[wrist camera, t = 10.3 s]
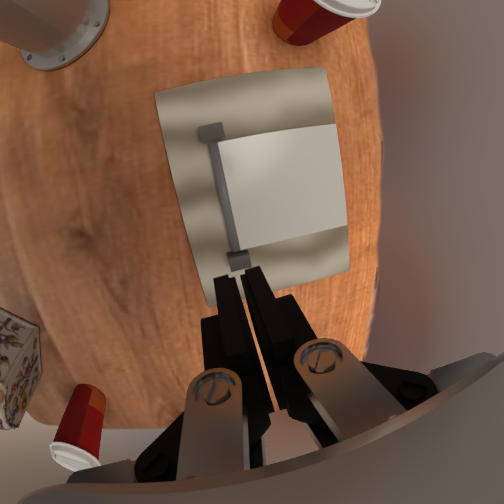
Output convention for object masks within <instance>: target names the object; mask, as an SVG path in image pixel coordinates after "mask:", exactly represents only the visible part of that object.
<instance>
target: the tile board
mask: <svg viewBox="0 0 504 504" xmlns="http://www.w3.org/2000/svg"><path fill="white" fill-rule="evenodd" d="M154 95H155V100H156V105H157V110H158V115H159V120H160V125H161V129H162V134H163V139H164V143H165V148H166V152H167V156H168V161H169V165H170V169H171V173H172V177H173V181H174V186H175V190H176V194H177V197H178V201H179V205H180V209H181V213H182V217H183V220H184V224H185V228H186V232H187V235H188V239H189V242H190V246H191V249H192V253H193V256H194V260H195V263H196V267H197V270H198V274H199V277H200V280H201V284H202V287H203V290H204V293H205V297H206V300H207V303H208V306H209V307H211V306H216V305H217V302H216V295H215V288H214V282H213V278H216V277H220V276H223V275H227V274H228V276H229V278H231V277H235V278H236V282H237V285H238V289H239V292H240V296H241V299H245V298H246V297H245V293H244V290H243V286H242V282H241V278H240V275H242V274H245V269H249V268H252V267H256V266H260V267H261V269H262V272H263V274H264V276H265V278H266V280H267V282H268V284H269V286H270V288H271V290H272V292H273V291H277V290H281V289H285V288H288V287H292V286H296V285H300V284H303V283H307V282H311V281H315V280H318V279H322V278H325V277H329V276H333V275H336V274H340V273H343V272H347V271H350V267H349V245H348V229H347V225H346V226H341V227H337V228H333V229H329V230H324V231H320V232H316V233H312V234H307V235H303V236H299V237H295V238H290V239H286V240H282V241H278V242H274V243H269V244H265V245H261V246H257V247H253V248H248V249H244V250H240V251H237V252H232V251H231V247H230V242H229V238H228V234H227V229H226V225H225V220H224V216H223V212H222V207H221V203H220V198H219V194H218V189H217V185H216V180H215V176H214V171H213V166H212V162H211V157H210V153H209V148H208V144H212V143H216V142H221V141H226V140H231V139H236V138H241V137H246V136H251V135H257V134H263V133H269V132H275V131H281V130H288V129H295V128H302V127H310V126H319V125H328V124H335V117H334V111H333V106H332V100H331V95H330V90H329V84H328V79H327V75H326V70H325V67H309V68H293V69H281V70H271V71H262V72H254V73H247V74H240V75H234V76H227V77H222V78H216V79H211V80H206V81H201V82H197V83H192V84H188V85H183V86H179V87H175V88H171V89H168V90H164V91H160V92H157V93H154Z"/></svg>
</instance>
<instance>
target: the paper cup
mask: <svg viewBox="0 0 504 504" xmlns="http://www.w3.org/2000/svg"><path fill="white" fill-rule="evenodd" d="M380 4H381V0H281V2H280V4H279V6H278V9H277V11H276V13H275V15H274V18H273V28H274V31H275V33H276V34H277V36H278V37H279V38H280V39H282V40H283V41H285V42H287V43H289V44H292V45H298V46H301V45H306V44H309V43H311V42H313V41H315V40H317V39H319V38H320V37H322V36H324V35H326V34H328V33H330V32H332V31H334V30H336V29H338V28H339V27H341V26H343V25H345V24H346V23H348V22H350V21H352V20H354V19H356V18H363V17H368V16H370V15H372V14H373V13H375V12H376V11H377V10H378V8H379V6H380Z"/></svg>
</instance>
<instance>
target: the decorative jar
mask: <svg viewBox="0 0 504 504" xmlns="http://www.w3.org/2000/svg"><path fill="white" fill-rule="evenodd" d="M41 374H42V368H41V358H40V341H39V327H38V326H35V325H33V324H31V323H29V322H27V321H25V320H23V319H21V318H19V317H17V316H15V315H13V314H11V313H9V312H7V311H5V310H3V309H1V308H0V429H2V430H10V429H15V428H18V427H19V425H20V423H21V420H22V418H23V416H24V413H25V411H26V409H27V406H28V404H29V402H30V399H31V397H32V395H33V393H34V391H35V388H36V386H37V384H38V381H39V379H40V376H41Z"/></svg>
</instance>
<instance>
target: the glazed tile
mask: <svg viewBox="0 0 504 504" xmlns="http://www.w3.org/2000/svg"><path fill="white" fill-rule="evenodd" d="M208 148H209V153H210V157H211V162H212V166H213V171H214V176H215V180H216V185H217V189H218V194H219V198H220V203H221V207H222V212H223V216H224V220H225V225H226V229H227V234H228V238H229V242H230V247H231V251H232V252H237V251H240V250H244V249H248V248H253V247H257V246H261V245H265V244H269V243H274V242H278V241H282V240H286V239H290V238H295V237H299V236H303V235H307V234H312V233H316V232H320V231H324V230H329V229H333V228H337V227H341V226H346V225H347V214H346V202H345V192H344V182H343V173H342V165H341V157H340V149H339V142H338V135H337V129H336V124H328V125H319V126H310V127H302V128H295V129H288V130H281V131H275V132H269V133H263V134H257V135H251V136H246V137H241V138H236V139H231V140H226V141H221V142H216V143H212V144H208Z"/></svg>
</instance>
